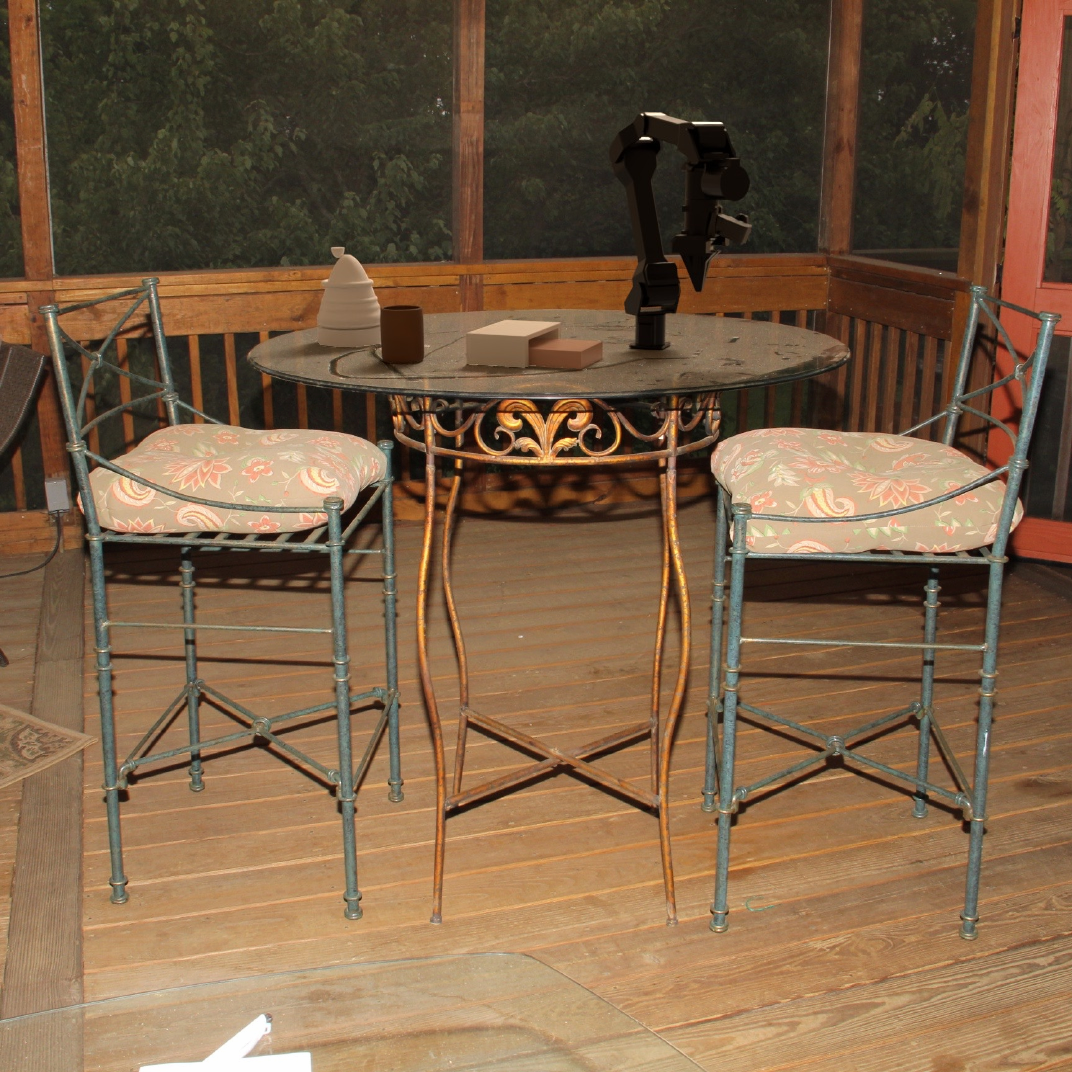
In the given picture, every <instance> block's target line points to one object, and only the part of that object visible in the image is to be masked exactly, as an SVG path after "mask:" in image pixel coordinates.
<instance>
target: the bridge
mask: <svg viewBox="0 0 1072 1072" xmlns="http://www.w3.org/2000/svg"><path fill="white" fill-rule="evenodd" d="M532 338H549V339H562V322H560V321H559V322H557V321H556V322H554V321H539V320H538V321H537V320H534V321H533V320H520V319H519V320H517V319H516V320H515V319H503V320H501V321H498V322H495V323H492V324H489V325H486V326H483V327H480V328H478V329H474V330H471V331H468V332H466V333H465V345H466V347H465V348H466V349H465V350H466V353H465V354H466V365H467V364H478V365H497V366H505V367H504V368H509V367H528V366H529V356H528V340H529V339H532ZM529 367H530V366H529ZM529 367H528V368H529Z"/></svg>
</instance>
